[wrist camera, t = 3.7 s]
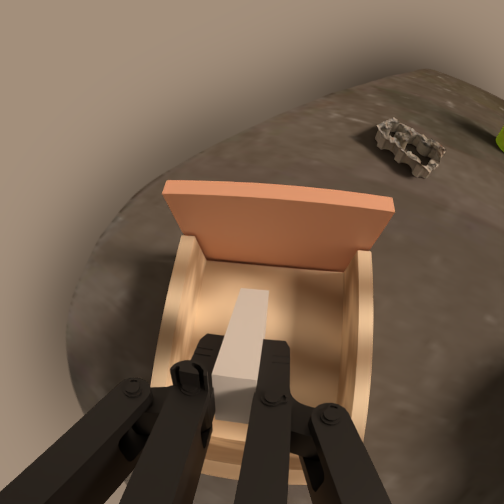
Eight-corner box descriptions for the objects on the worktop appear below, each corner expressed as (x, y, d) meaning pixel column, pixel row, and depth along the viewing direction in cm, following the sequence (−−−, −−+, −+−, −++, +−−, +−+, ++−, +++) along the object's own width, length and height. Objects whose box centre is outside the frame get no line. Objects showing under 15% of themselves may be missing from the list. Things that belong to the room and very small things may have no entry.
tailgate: (352, 274, 27) (395, 212, 17) (198, 260, 29) (162, 193, 18) (351, 263, 28) (392, 197, 17) (200, 250, 29) (166, 180, 19)
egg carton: (439, 167, 35) (449, 150, 31) (419, 186, 33) (431, 168, 30) (391, 127, 39) (398, 109, 35) (367, 140, 37) (373, 121, 33)
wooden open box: (336, 452, 20) (365, 481, 12) (172, 433, 22) (131, 453, 14) (349, 280, 28) (378, 240, 20) (199, 266, 29) (174, 223, 21)
